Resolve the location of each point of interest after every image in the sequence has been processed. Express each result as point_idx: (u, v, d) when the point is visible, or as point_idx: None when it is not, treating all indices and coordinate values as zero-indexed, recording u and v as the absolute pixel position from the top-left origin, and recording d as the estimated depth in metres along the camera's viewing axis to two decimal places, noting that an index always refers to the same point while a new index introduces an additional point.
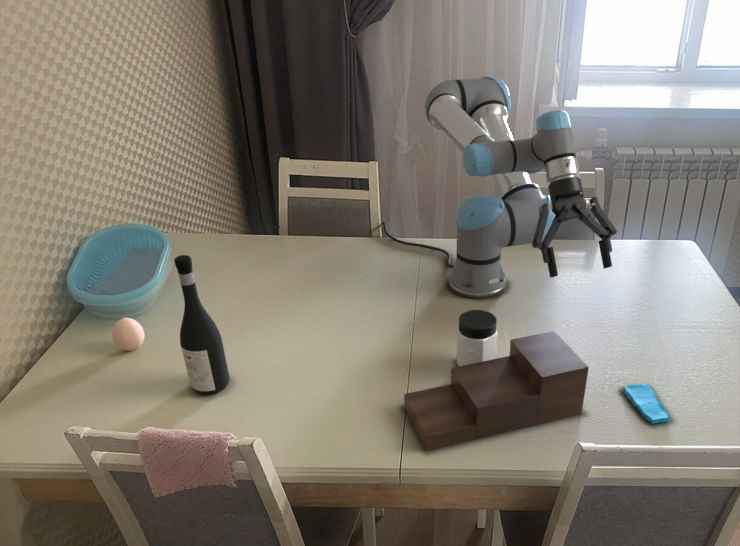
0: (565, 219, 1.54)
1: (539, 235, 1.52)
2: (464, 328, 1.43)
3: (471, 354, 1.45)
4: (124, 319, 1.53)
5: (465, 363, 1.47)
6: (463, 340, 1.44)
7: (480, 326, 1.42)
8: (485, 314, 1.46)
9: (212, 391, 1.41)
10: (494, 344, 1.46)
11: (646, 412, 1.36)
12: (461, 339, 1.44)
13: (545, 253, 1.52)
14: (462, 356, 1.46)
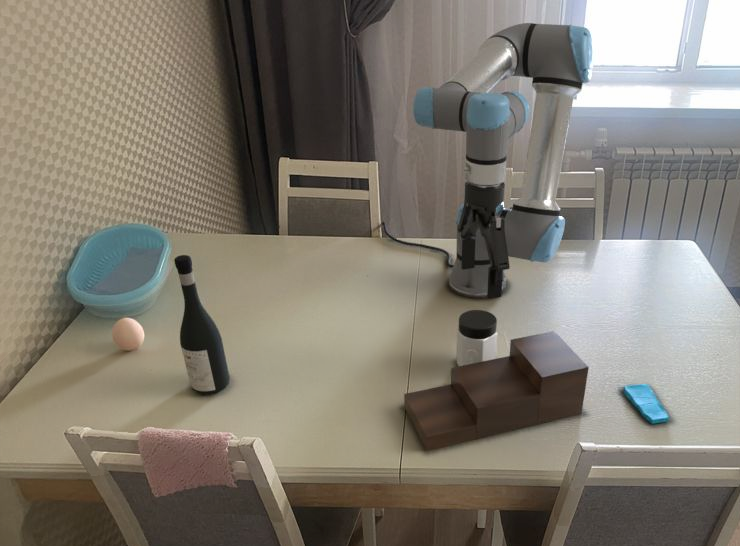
0: None
1: (459, 223, 1.41)
2: (464, 328, 1.43)
3: (471, 354, 1.45)
4: (124, 319, 1.53)
5: (465, 363, 1.47)
6: (463, 340, 1.44)
7: (480, 326, 1.42)
8: (485, 314, 1.46)
9: (212, 391, 1.41)
10: (494, 344, 1.46)
11: (646, 412, 1.36)
12: (461, 339, 1.44)
13: None
14: (462, 356, 1.46)
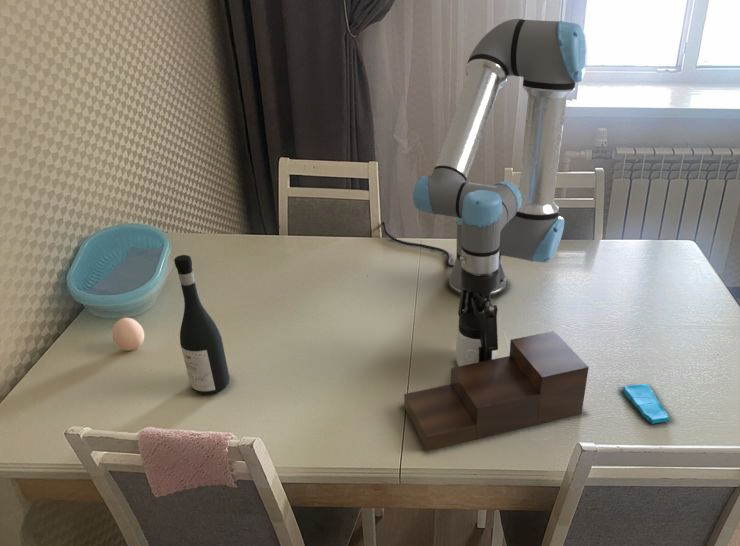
0: None
1: (459, 307, 1.51)
2: (464, 328, 1.43)
3: (471, 354, 1.45)
4: (124, 319, 1.53)
5: (465, 363, 1.47)
6: (463, 340, 1.44)
7: None
8: None
9: (212, 391, 1.41)
10: None
11: (646, 412, 1.36)
12: (461, 339, 1.44)
13: None
14: (462, 356, 1.46)
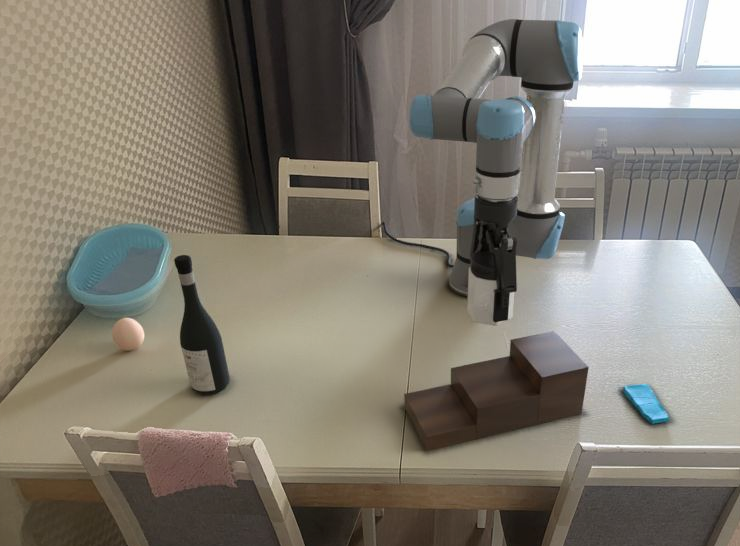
0: None
1: (471, 248, 1.31)
2: (477, 267, 1.23)
3: (484, 299, 1.25)
4: (124, 319, 1.53)
5: (478, 310, 1.27)
6: (476, 282, 1.24)
7: None
8: None
9: (212, 391, 1.41)
10: None
11: (646, 412, 1.36)
12: (473, 281, 1.25)
13: None
14: (474, 301, 1.26)
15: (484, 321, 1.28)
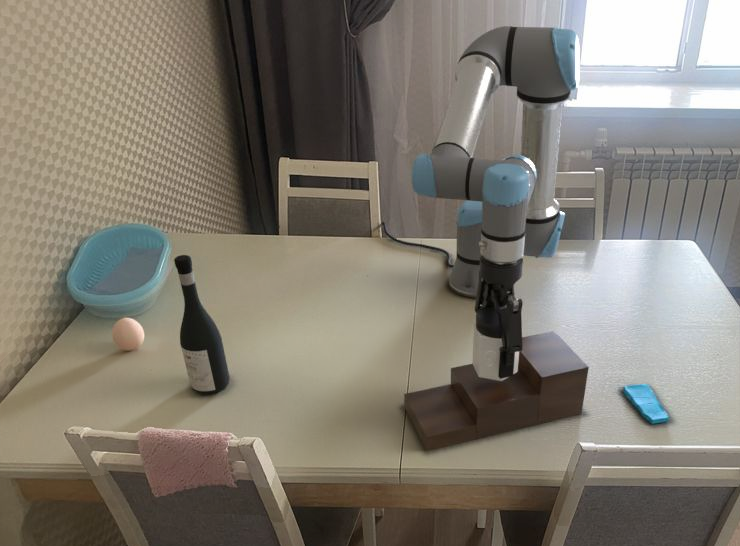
0: None
1: (476, 302, 1.31)
2: (483, 326, 1.23)
3: (490, 356, 1.26)
4: (124, 319, 1.53)
5: (483, 366, 1.28)
6: (481, 339, 1.25)
7: None
8: None
9: (212, 391, 1.41)
10: None
11: (646, 412, 1.36)
12: (479, 338, 1.25)
13: None
14: (480, 358, 1.27)
15: (489, 376, 1.28)
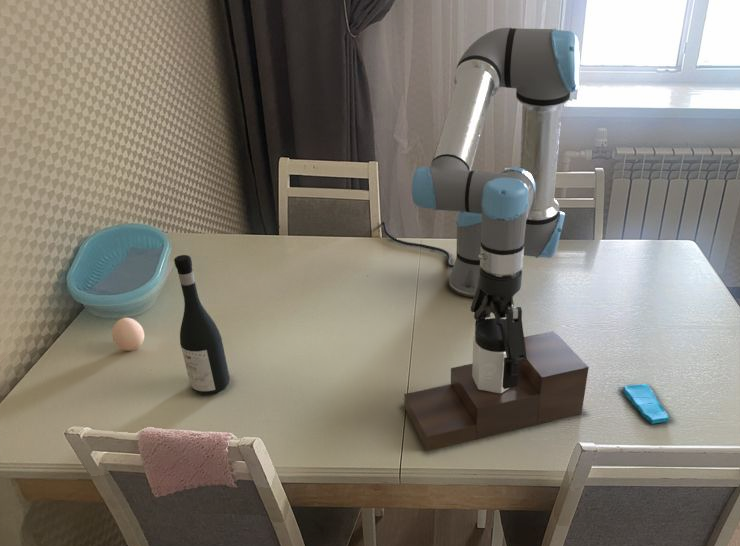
0: None
1: (473, 303, 1.33)
2: (482, 339, 1.25)
3: (489, 369, 1.27)
4: (124, 319, 1.53)
5: (482, 379, 1.29)
6: (481, 353, 1.26)
7: (500, 337, 1.24)
8: None
9: (212, 391, 1.41)
10: None
11: (646, 412, 1.36)
12: (478, 352, 1.27)
13: None
14: (479, 371, 1.29)
15: (488, 389, 1.30)
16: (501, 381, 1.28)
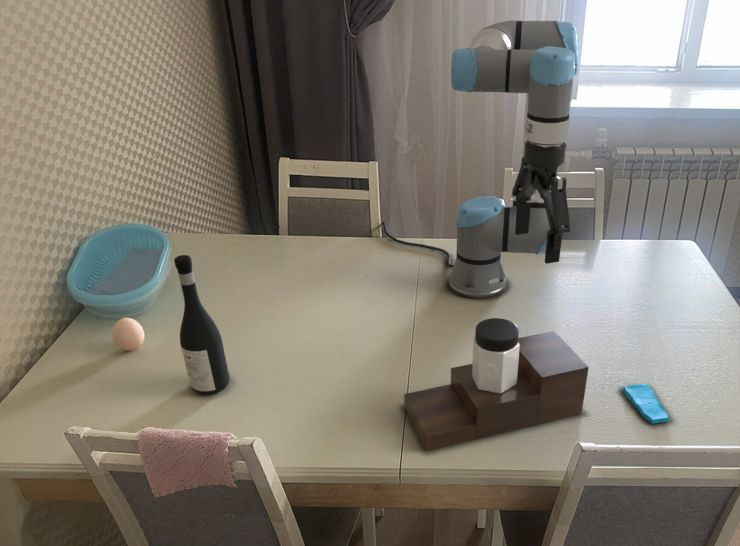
0: None
1: (514, 186, 1.37)
2: (482, 339, 1.25)
3: (489, 369, 1.27)
4: (124, 319, 1.53)
5: (482, 379, 1.29)
6: (481, 353, 1.26)
7: (500, 337, 1.24)
8: (505, 323, 1.29)
9: (212, 391, 1.41)
10: (516, 357, 1.28)
11: (646, 412, 1.36)
12: (478, 352, 1.27)
13: None
14: (479, 371, 1.29)
15: (488, 389, 1.30)
16: (501, 381, 1.28)
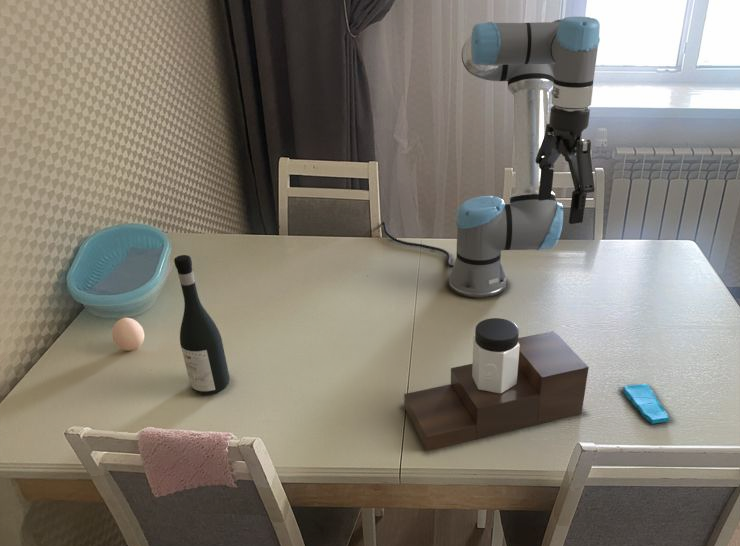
0: None
1: (538, 153, 1.45)
2: (482, 339, 1.25)
3: (489, 369, 1.27)
4: (124, 319, 1.53)
5: (482, 379, 1.29)
6: (481, 353, 1.26)
7: (500, 337, 1.24)
8: (505, 323, 1.29)
9: (212, 391, 1.41)
10: (516, 357, 1.28)
11: (646, 412, 1.36)
12: (478, 352, 1.27)
13: None
14: (479, 371, 1.29)
15: (488, 389, 1.30)
16: (501, 381, 1.28)
